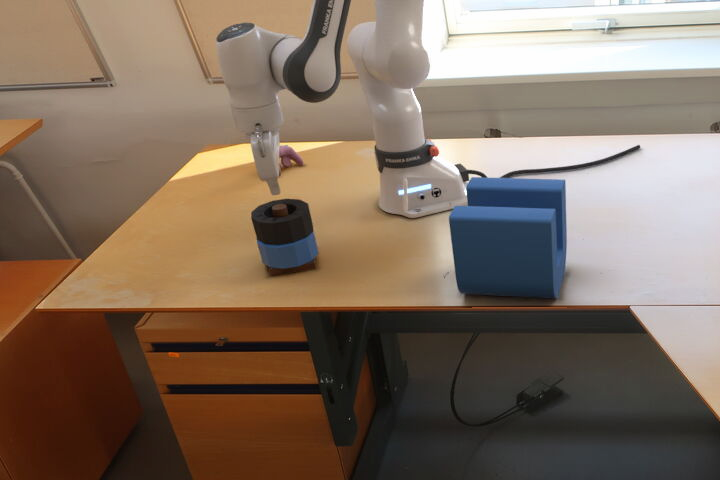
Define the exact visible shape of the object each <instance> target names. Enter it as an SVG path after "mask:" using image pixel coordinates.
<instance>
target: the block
mask: <svg viewBox="0 0 720 480" xmlns="http://www.w3.org/2000/svg"><path fill="white" fill-rule="evenodd" d="M467 183H468V184H467V187H466V192H467V202H468V205H467V206H455V207H454V209H451V212H450V214H449V216H448V225H449V232H450V233H449V234H450V240H451V241H450V242H451V249H452V258H453V265H454V273H455V275H454V276H455V282H456V286H457V290H458V291H459V293H460V294H462V295H463V294H464V295H481V296H503V297H518V298H519V297H521V298H522V297H523V298H524V297H525V298H539V299H542V298H543V299H558V297H559V295H560V290H561V287H562V283H563V280H564V276H565V272H566V271H565V270H566V262H567V247H568V246H567V245H568V240H567V239H568V238H567V237H568V235H567V231H568V230H567V193H566V192H567V190H566V188H567V187H566V179H557V178H520V177H519V178H517V177H516V178H515V177H508V178H500V177H488V178H486V177H481V176H472V177H470V178H469V181H468V182H467Z"/></svg>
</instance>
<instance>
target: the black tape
mask: <svg viewBox="0 0 720 480" xmlns="http://www.w3.org/2000/svg"><path fill="white" fill-rule="evenodd" d="M277 204H285V205H286V207H287V211H288V215H287V216H285V217H278V218H274V215H273V211H272V207H273V206H274V205H277ZM250 214H251V216H250V219H251V222H252V226H253V229H254V233H255V237H256V241H257V240H259V241H261V242H262V243H264V244H271V245H282V244H288V243H294V242H297V241H299V240H301V239H304V238H306V237H308V236H309V235H310V234H311V233H312V232H313V231H314V223H313V219H312V214H311V210H310V205H309V203H308V202H307V201H304V200H302V199H298V198H281V199H274V200H270V201H268V202H265V203H263V204H259V205H258V206H257V207H255V208H254V209H253V210H252V211H251V212H250ZM314 232H315V231H314Z"/></svg>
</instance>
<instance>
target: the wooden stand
mask: <svg viewBox="0 0 720 480" xmlns="http://www.w3.org/2000/svg"><path fill="white" fill-rule="evenodd" d="M272 211H273V215H274V218H278V217H285V216H287V215H288V211H287V207H286V205H285V204H277V205H274V206H273V207H272ZM316 264H317V263H316V257H315V258H314V259H313V260H312V261H310V262H307V263H305V264H303V265H301V266H297V267H291V268H285V269H282V268H271V267H269V266H268V271H269V275H270V276H271V277H273V276H277V275H284V274H285V275H286V274H291V273H296V272H303V271H309V270H315V269H316V268H317V265H316Z"/></svg>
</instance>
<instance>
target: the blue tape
mask: <svg viewBox="0 0 720 480" xmlns="http://www.w3.org/2000/svg"><path fill="white" fill-rule="evenodd" d="M256 245H257V248H258V251H259V255H260V258H261V263H262V264H263V265H265V266H267V267H268V268H269V267H271V268H282V269H285V268H291V267H297V266H301V265H303V264H305V263H307V262H310V261H312V260H313V259H314V258H315V259H316V257H317V256H318V255H319V248H318V243H317V239H316V235H315V231H313V232H312V233H311V234H310V235H309V236H308V237H306V238H304V239H301V240H299V241H297V242H294V243H288V244H282V245H271V244H264V243H262V242H261V241H259V240H257V239H256Z"/></svg>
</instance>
